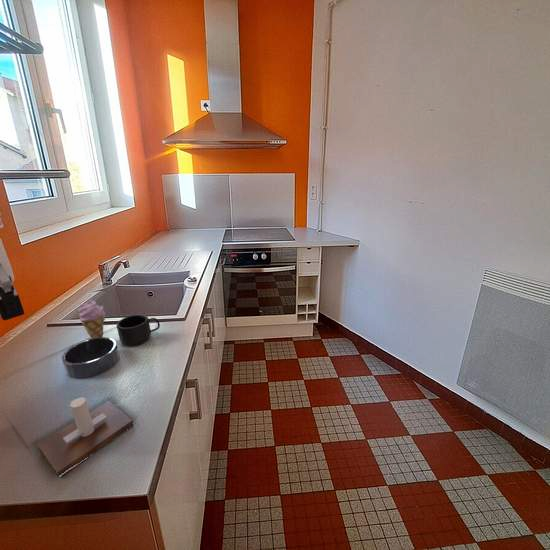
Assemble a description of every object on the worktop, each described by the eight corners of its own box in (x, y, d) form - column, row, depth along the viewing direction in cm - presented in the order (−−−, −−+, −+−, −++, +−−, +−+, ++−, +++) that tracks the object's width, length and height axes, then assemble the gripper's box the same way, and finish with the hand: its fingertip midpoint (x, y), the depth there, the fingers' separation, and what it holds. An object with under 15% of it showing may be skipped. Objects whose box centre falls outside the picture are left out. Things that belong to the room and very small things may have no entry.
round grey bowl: (79, 387, 76) (74, 371, 74) (59, 369, 83) (54, 353, 81) (128, 361, 85) (124, 346, 83) (106, 347, 92) (102, 332, 91)
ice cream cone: (109, 337, 98) (99, 294, 93) (115, 344, 93) (104, 300, 88) (86, 345, 94) (73, 301, 88) (91, 353, 89) (78, 308, 84)
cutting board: (59, 478, 53) (57, 472, 53) (39, 449, 59) (36, 444, 58) (134, 425, 64) (132, 420, 63) (110, 405, 70) (109, 400, 69)
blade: (69, 448, 57) (58, 418, 55) (63, 441, 59) (52, 411, 56) (109, 422, 63) (101, 393, 61) (103, 416, 65) (94, 388, 62)
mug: (122, 352, 89) (117, 331, 87) (119, 338, 97) (115, 319, 94) (164, 340, 95) (160, 320, 93) (158, 328, 102) (155, 309, 100)
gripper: (-68, 220, 54) (-32, 306, 60) (-48, 230, 44) (-7, 332, 50) (-13, 214, 60) (15, 293, 66) (15, 222, 50) (45, 314, 56)
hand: (5, 310), depth 58 cm, fingers open, 9 cm apart
